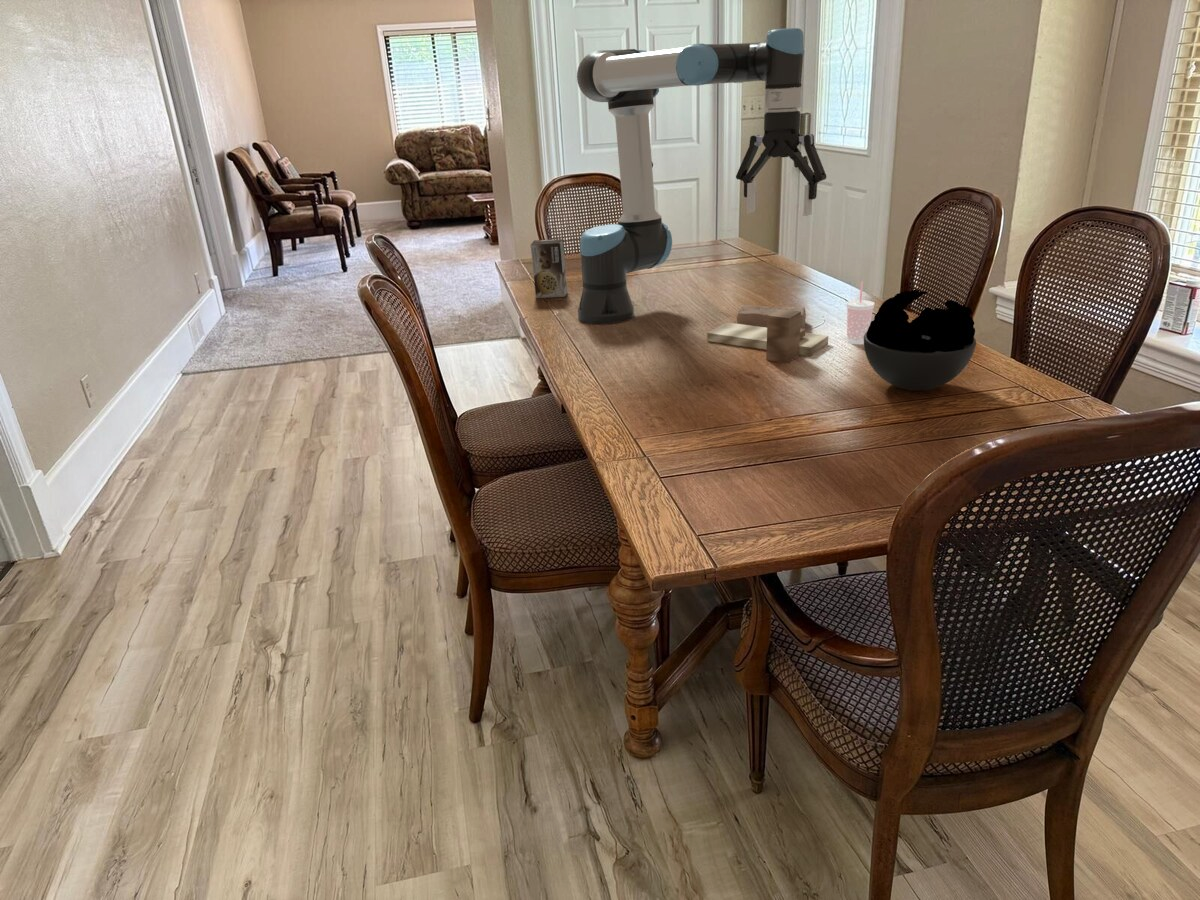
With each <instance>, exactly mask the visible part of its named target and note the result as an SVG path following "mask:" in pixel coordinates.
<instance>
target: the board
mask: <svg viewBox="0 0 1200 900" xmlns="http://www.w3.org/2000/svg"><path fill="white" fill-rule="evenodd" d="M706 341H707V342H713V343H720V344H726V345H731V346H737V347H746V348H753V349H759V350H766V349H767V328H766V327H758V326H751V325H743V324H737V322H735V323H734V322H728V321H727V322H725V323H724V324H721V325H720V326H718V327H715V328H714V329H712V330H710V331H708V332H707V333H706ZM828 345H829V335H826V334H825V335H824V334H817V333H810V332H805V336H804V337H802V338H801V339H800V340H799V356H806V357H812V356H814V354H816V353H817V352H819V351H821V349H823V348H825V347H826V346H828Z"/></svg>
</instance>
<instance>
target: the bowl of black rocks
mask: <svg viewBox="0 0 1200 900" xmlns="http://www.w3.org/2000/svg"><path fill="white" fill-rule="evenodd" d="M927 293H928V291H926V290H925V291H923V290H922V291H920V290H918V289H913V290H910V291H909V290H904V291H902V292H898V293H896V294H895V295H894V296H892V297H889V298H887V299H885V301H883V302H882V303H881V304H880V306H879V308H878V311H877V312H876V313H875V315H874V317H873V320H871V323H870V326H869V328H868V330H867V332H866V333H865V335H864V344H863V349H864V353H865V356H866V359H867V361H868V363H869V365H870V366H871V368H872V369H873V370H874V372H875V373H876V374H877V375H878V377H880V378H881V379H883V380H884V381H885V382H886V383H889V384H890V385H892V386H894V387H896V388H900V389H904V390H906V391H907V390H909V391H927V390H932V389H936V388H938V387H942V386H943V385H945V384H948V383H950V381H952V380H953V379H955V378H956V377H957V376H958V375H960V373H962V371H964V370H965V369H966V367H967V365H968V364H969V362H970V361H971V359H972V357H973V355H974V354H975V353H974V352H975V350H976V347H977V346H976V345H977V340H976V338H975V335H976V328H975V327H974V326H975V321H974V318H973V317H972V316H970V315H972V314H973V311H972V309H971V308H969V307H967V306H965V305H963V304H961V303H959V302H958V301H955V300H952V299H948V300H946V301H945V303H944V306H945V307H946V308H940V307H936V308H934V309H933V308H931V307H928V306H927V307H926V308H923V310H922V311H921V312H920V313H919V315H918V316H916V317H915V318H913V319H912V321H908V320H909V319H910V316H909V314H908V313H907V311H906V310H905V309H906V308H907V307H908V306H909V305H910V304H912V303H913V302H915V300H918V299H919V298H920V297H921V296H923V295H926V294H927Z"/></svg>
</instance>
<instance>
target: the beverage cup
mask: <svg viewBox="0 0 1200 900" xmlns="http://www.w3.org/2000/svg"><path fill="white" fill-rule="evenodd" d="M863 289H864V280H860V289H859V290H860V291H859V299H854V300H853V299H852V300H849V301H847V302H845V304H846V306H845V307H846V309H847V310H846V311H847V312H846V314H847V315H846V342H847V343H848V344H852V345H864V335H865V333H866V332H867V330H868V328H869V326H870V323H871V321H872V315H873V309H874V308H875V302H874V301H871V300H865V299H863Z"/></svg>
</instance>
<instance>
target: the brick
mask: <svg viewBox="0 0 1200 900" xmlns="http://www.w3.org/2000/svg"><path fill="white" fill-rule="evenodd" d="M779 309H784V310H793V311H801V321H800V329H806V317H807V315H806V314H807V313H806V308H805V307H804V306H799V307H793V306H780V307H779V306H778V307H772V306H767V305H765V306H764V305H763V306H759V305H752V304H751V305H750V304H742V305H740V306H739V307H738V311H737V316H736V324H743V325H751V326H758V327H766V328H767V320H768V315H770V314H771V313H773V312H775V311H777V310H779Z"/></svg>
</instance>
